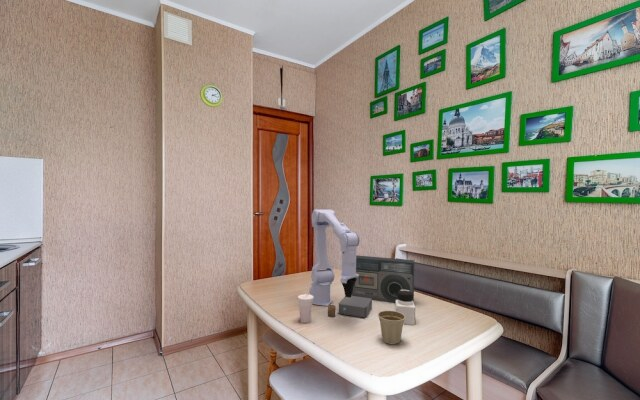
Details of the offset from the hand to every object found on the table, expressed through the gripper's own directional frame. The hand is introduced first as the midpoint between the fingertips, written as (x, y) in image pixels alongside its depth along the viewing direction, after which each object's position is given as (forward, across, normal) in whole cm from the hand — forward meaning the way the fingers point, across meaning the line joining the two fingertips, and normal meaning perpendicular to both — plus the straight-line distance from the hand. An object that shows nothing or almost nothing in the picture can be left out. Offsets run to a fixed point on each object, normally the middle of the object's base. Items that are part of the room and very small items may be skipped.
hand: (348, 296), depth 116 cm
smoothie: (+10, -6, +16) cm, 20 cm away
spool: (+10, +3, +8) cm, 13 cm away
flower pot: (+10, -9, -18) cm, 23 cm away
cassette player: (+10, +33, -8) cm, 35 cm away
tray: (+9, +11, 0) cm, 14 cm away
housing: (+10, +13, 0) cm, 16 cm away
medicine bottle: (+10, +10, -21) cm, 25 cm away
